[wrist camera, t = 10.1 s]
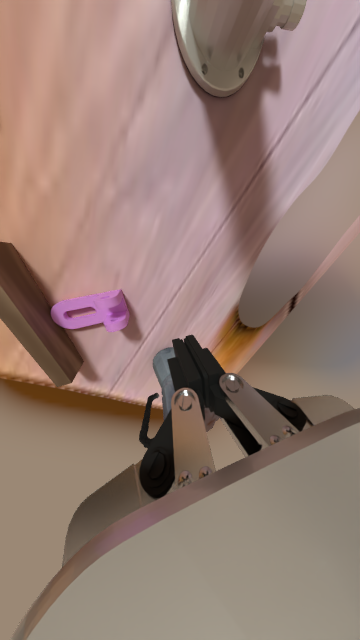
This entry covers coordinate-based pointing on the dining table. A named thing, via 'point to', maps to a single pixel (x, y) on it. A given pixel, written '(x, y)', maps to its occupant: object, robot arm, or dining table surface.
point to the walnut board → (34, 320)
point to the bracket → (107, 311)
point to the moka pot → (166, 395)
